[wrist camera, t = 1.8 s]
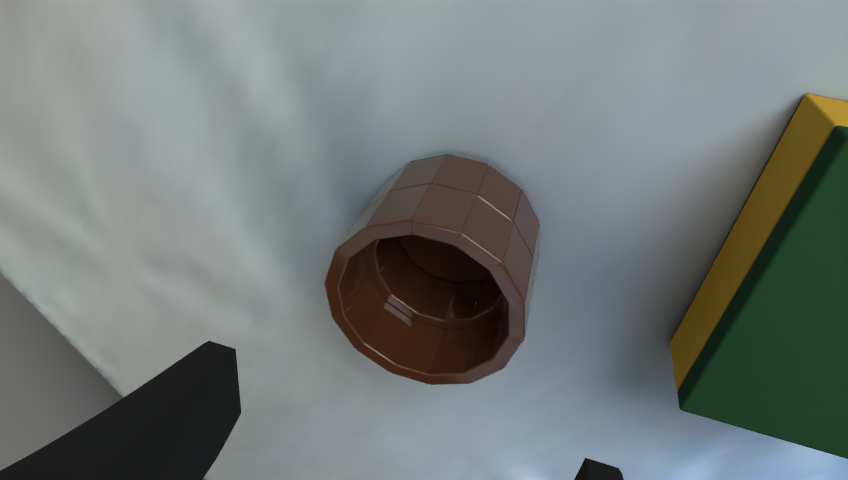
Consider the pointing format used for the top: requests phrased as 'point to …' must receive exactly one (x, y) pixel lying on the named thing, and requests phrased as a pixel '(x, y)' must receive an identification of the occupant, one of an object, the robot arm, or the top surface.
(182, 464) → the robot arm
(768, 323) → the sponge
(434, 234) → the brown hollow cylinder
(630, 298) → the top surface
